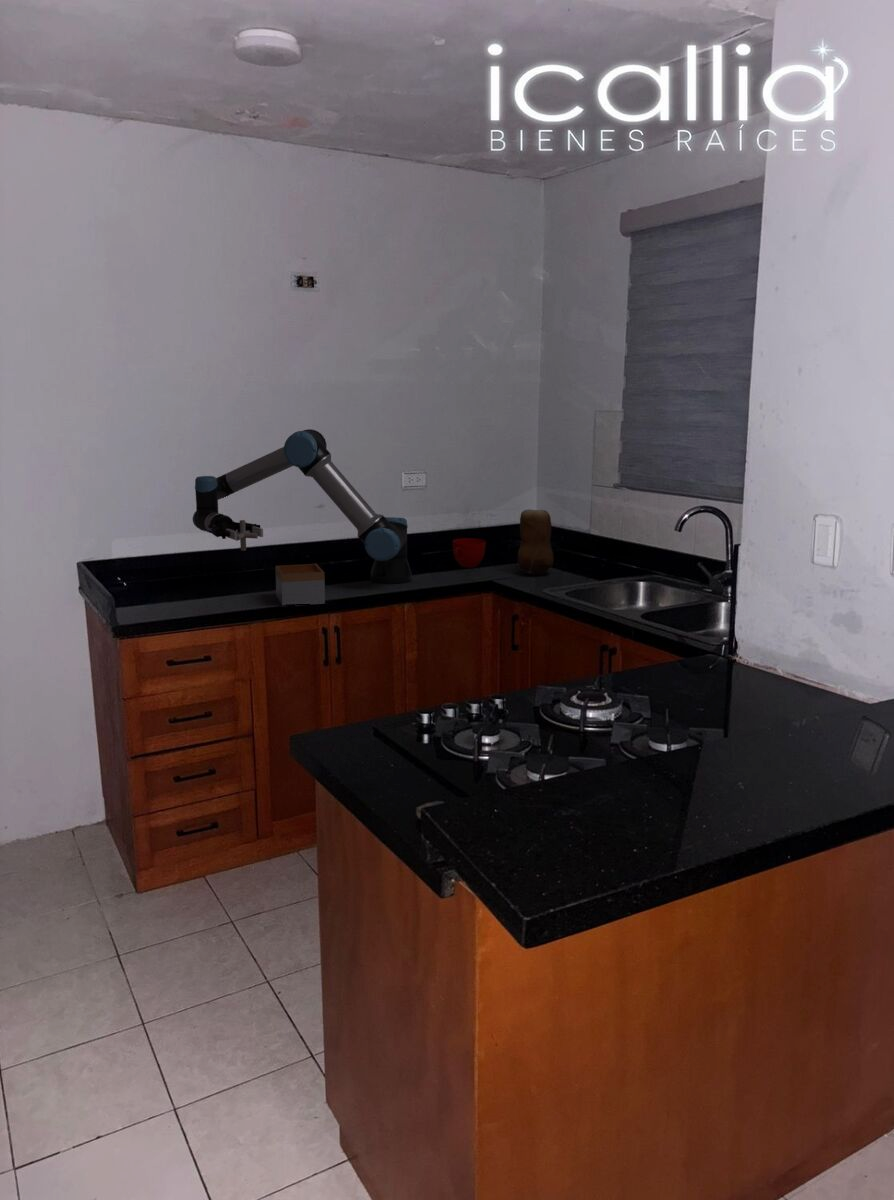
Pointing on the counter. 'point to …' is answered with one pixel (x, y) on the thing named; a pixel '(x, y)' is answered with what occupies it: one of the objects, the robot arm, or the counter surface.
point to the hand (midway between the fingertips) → (249, 534)
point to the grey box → (300, 584)
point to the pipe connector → (244, 535)
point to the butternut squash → (535, 542)
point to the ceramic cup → (468, 551)
